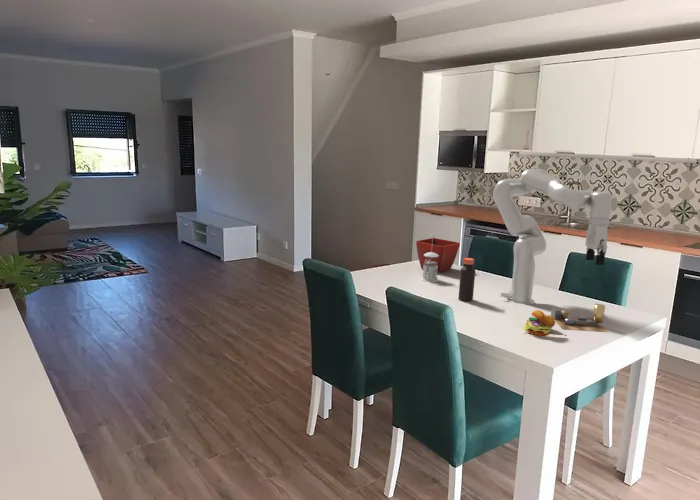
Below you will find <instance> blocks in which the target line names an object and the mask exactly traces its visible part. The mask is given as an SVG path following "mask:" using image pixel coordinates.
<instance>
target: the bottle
mask: <svg viewBox="0 0 700 500" xmlns="http://www.w3.org/2000/svg"><path fill="white" fill-rule="evenodd" d="M462 261H463V262H462V263H463V264H462V265H463V266H462V267H461V268H460V273H459V275H460V276H459V285H458V286H459V287H458V301H462V302H465V303H466V302H467V303H469V302H472V301H474V292H475V291H474V289H475V278H476V269H475V267H474V264H475V259H474V258H472V257H464V258H463V260H462Z"/></svg>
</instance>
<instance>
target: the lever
mask: <svg viewBox="0 0 700 500" xmlns="http://www.w3.org/2000/svg"><path fill="white" fill-rule="evenodd" d="M605 311H606V305H605V304H602V303H594V306H593V313H592V318H593V319H592V320H587V318H588V317H586V316H580V315H578V316H576V317H577V320H576V319H573V318H565V322H564V323H565V324H566V325H575V324H580V325H597V326H598V323H599V324H604V317H605Z"/></svg>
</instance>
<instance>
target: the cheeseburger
mask: <svg viewBox="0 0 700 500" xmlns="http://www.w3.org/2000/svg"><path fill="white" fill-rule="evenodd" d="M531 315H532V317H528V319H526V321H525V323H524V326H523V330H524V331H525V334H530V335H534V336H539V337H546V336H548V335H549V333H550V332H551V331H552V329H553V327H554V326H555V324H556V322H555V319H554V318H553V317H552V316H551V314H548V315H547V314H545V313H544V311H542V310H540V309H535V310H534V311H532V312H531Z"/></svg>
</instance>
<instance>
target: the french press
mask: <svg viewBox="0 0 700 500" xmlns="http://www.w3.org/2000/svg"><path fill="white" fill-rule="evenodd" d="M430 237H431V238H432V242H433V238H435V235H434V234H431V235H430ZM424 256H425V257H431V258H434V257H438V256H439V255H438V254H436V253H433V252H432V250H431V252H429V253H426V254H424ZM436 264H437V262H435V261H430V259H429V260H428V261H426V260H425V262H424V265H423V269H422V277H421V278H420V281H423V282H426V283H436V282H439V279H438V273H437V272H436V271H437V270H436V269H438V265H436ZM427 268H428V269H427Z"/></svg>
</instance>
